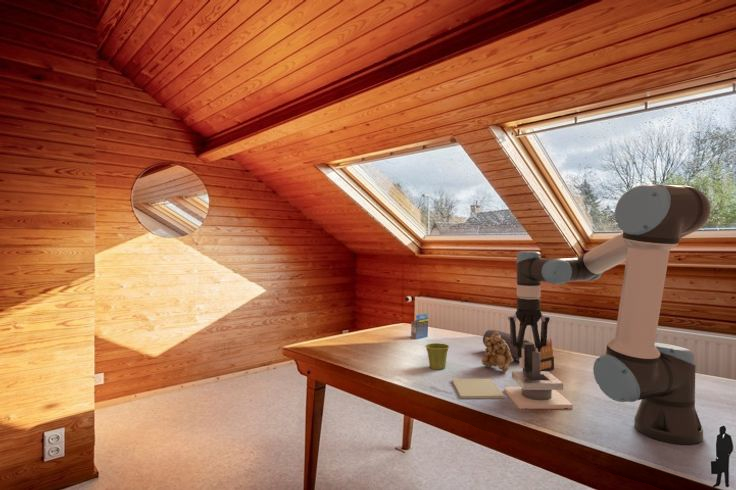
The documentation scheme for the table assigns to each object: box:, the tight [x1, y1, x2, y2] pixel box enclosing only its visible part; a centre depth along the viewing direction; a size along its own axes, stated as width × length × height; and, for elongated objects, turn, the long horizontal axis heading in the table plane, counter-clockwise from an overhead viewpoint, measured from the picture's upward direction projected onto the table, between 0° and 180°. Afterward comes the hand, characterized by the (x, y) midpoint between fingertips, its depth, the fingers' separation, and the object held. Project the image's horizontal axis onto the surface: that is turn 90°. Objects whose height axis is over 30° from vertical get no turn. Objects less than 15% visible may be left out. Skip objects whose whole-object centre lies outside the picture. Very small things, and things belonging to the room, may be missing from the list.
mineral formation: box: [481, 332, 514, 373], centre depth 174 cm, size 8×13×15 cm, turn 32°
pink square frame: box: [511, 341, 564, 391], centre depth 144 cm, size 15×12×11 cm
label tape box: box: [410, 313, 429, 340], centre depth 229 cm, size 9×4×12 cm, turn 130°
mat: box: [451, 378, 506, 399], centre depth 152 cm, size 17×14×1 cm
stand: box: [503, 351, 574, 410], centre depth 143 cm, size 16×16×15 cm
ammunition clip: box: [540, 338, 555, 372], centre depth 172 cm, size 11×2×12 cm, turn 123°
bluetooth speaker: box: [482, 329, 530, 361], centre depth 193 cm, size 23×9×10 cm, turn 22°
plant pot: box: [425, 342, 450, 371], centre depth 177 cm, size 9×9×9 cm
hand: (528, 366), depth 150 cm, fingers open, 4 cm apart
